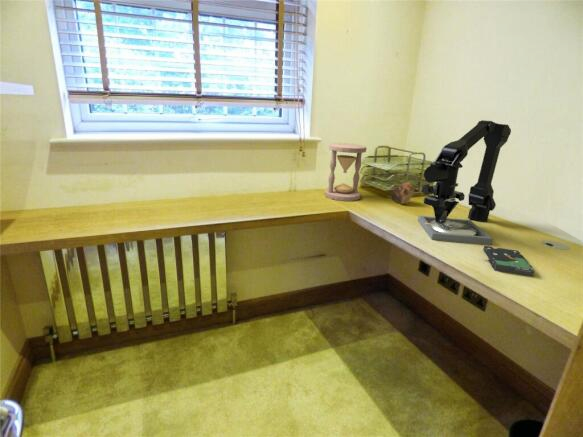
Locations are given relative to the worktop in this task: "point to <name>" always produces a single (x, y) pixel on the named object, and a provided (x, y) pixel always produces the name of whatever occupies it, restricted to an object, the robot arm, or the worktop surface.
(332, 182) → the hourglass
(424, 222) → the dial housing
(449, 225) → the dial
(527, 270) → the disk drive
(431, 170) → the robot arm
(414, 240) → the worktop surface
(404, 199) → the decorative rock
